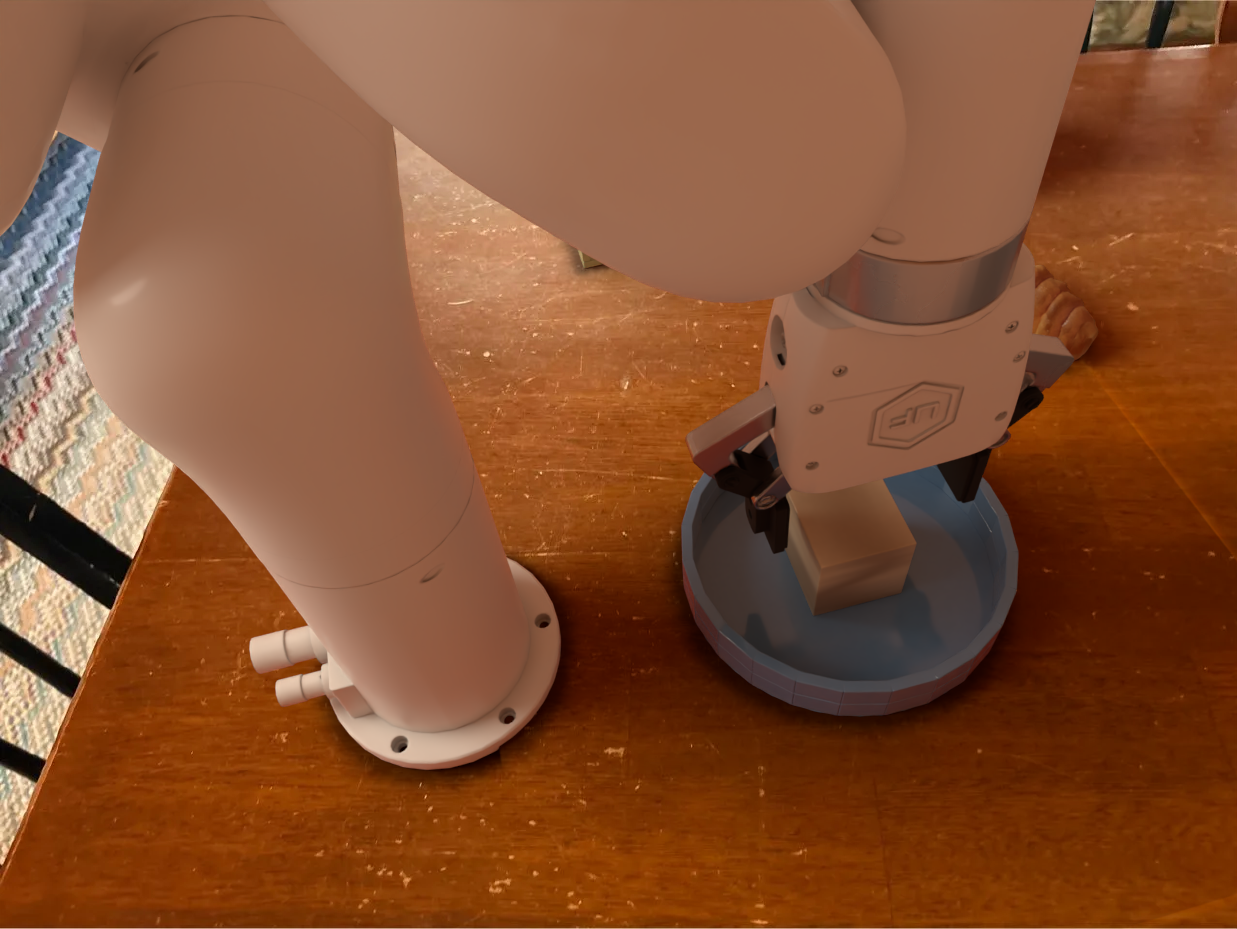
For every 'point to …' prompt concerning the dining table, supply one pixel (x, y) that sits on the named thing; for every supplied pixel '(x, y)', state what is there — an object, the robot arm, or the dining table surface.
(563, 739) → the dining table surface
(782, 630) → the bowl
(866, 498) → the block
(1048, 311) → the pastry
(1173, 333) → the dining table surface
